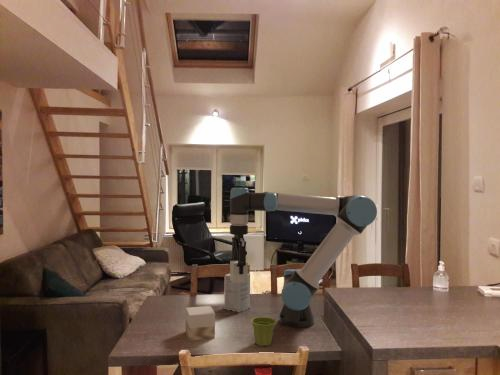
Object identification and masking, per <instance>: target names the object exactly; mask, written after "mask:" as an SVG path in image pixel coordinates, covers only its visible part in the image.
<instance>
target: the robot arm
mask: <svg viewBox="0 0 500 375" xmlns="http://www.w3.org/2000/svg"><path fill="white" fill-rule="evenodd" d="M229 208H230V209H229V215H230V216H229V217H228V219H229V223H230V225H229V234H230V235H233V236H232V237H231V243H232V244H231V245H232V246H231V261H234V260H238V265H236V266H237V282H244V266H245V265H246V262H247V252H246V251H247V250H246V249H247V241H246V240H245V237H244V235H245V236H246V235H247V234H248V233H249V225H248V224H249V211H251V212H253V211H255V212H256V211H257V212H258V211H259V212H275V211H283V212H284V211H285V212H295V213H296V212H298V213H307V214H316V215H317V214H319V215H329V216H330V215H331V216H334V217H335V218H336V220H337V221H336V223H335V224H334V226H333V227H332V228H331V229H330V231H329V232H328V234H326V236H325V237H324V239H323V240H322V241H321V243H320V244H319V245H318V246H317V248H316V249H315V251H314V252H313V253H312V254H311V256H310V257H309V258H308V259H307V261H306V263H305V264H304V265H303V266H302V267H301V268H297V269H296V268H295V269H292V268H291V269H285V270H284V271H283V286H282V288H281V295H280V296H281V300H282V302H283V304H282V306H281V307H282V308H281V311H280V314H279V320H278V321H279V323H280V324H282V325H283V326H286V327H291V328H309V327H311V326H313V325H314V323H315V317H314V314H313V310H312V307H311V302H312V298H313V297H314V295H315V294H316V293H317V291H318V290H319V288H320V284H319V283H320V281H321V280H322V278H323V277H324V276H325V274H327V272H328V271H329V269H330V268H331V267H332V266H333V264H334V263H335V262H336V260H337V259H338V258H339V256H340V255H341V254H342V252H343V251H344V250H345V248H346V247H347V246H348V245H349V244H350V242H351V241H352V239H353V238H354V237H355V236H358V235H361V234H362V233H363V232H364V230H365V229H366V228H367V227H368V226H370V225H371V224H372V223H373V222H375V221H376V218H377V215H378V209H377V205H376V203H375V202H374V200H372V199H371V198H370V197H368V196H366V195H364V194H363V195H361V194H354V195H337V196H336V197H333V196H332V197H330V196H318V195H308V194H307V195H306V194H294V193H293V194H292V193H280V192H278V193H277V192H269V191H263V192H249V188H248V187H232V188H231V189H230V197H229ZM242 262H243V263H242Z"/></svg>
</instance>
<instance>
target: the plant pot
mask: <svg viewBox="0 0 500 375" xmlns="http://www.w3.org/2000/svg"><path fill="white" fill-rule="evenodd" d="M251 323H252V327H253V335H254V342H255V344H256V345H257V346H261V347H264V346H267V347H268V346H270V345H272V340H273V335H274V329H275V328H274V327H275V324H276V323H277V320H276V319H274V318H272V317H268V316H257V317H253V318H252V319H251Z"/></svg>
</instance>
